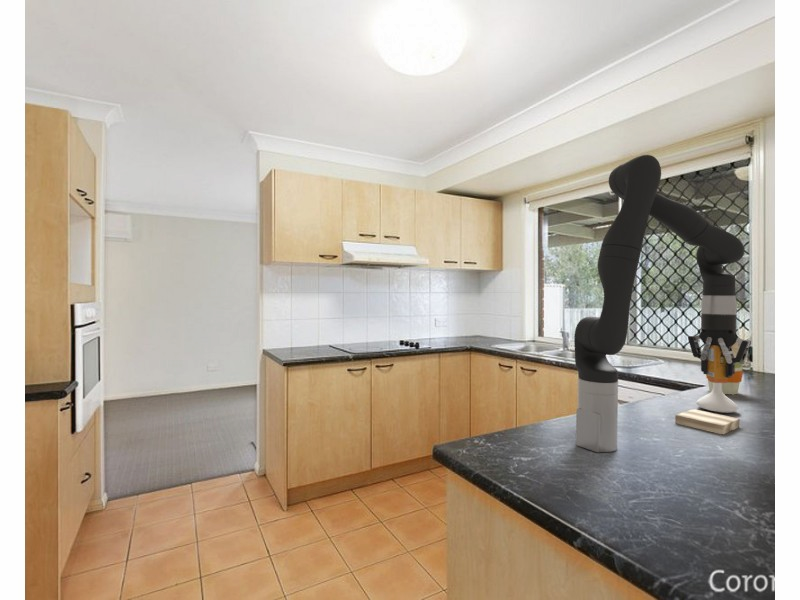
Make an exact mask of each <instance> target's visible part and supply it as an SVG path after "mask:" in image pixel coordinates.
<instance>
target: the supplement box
mask: <svg viewBox="0 0 800 600" xmlns="http://www.w3.org/2000/svg"><path fill="white" fill-rule="evenodd" d="M726 363H727V361H726V358H725V356H724V355H723V352H722V351H720V347H719V346H715V345H711V347H710V349H709V353H708V379H707V381H710V382H713V383H728V378H727V377H726V376H725V372H726Z"/></svg>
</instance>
